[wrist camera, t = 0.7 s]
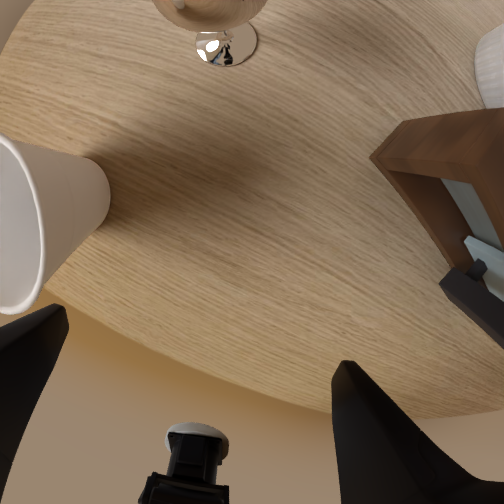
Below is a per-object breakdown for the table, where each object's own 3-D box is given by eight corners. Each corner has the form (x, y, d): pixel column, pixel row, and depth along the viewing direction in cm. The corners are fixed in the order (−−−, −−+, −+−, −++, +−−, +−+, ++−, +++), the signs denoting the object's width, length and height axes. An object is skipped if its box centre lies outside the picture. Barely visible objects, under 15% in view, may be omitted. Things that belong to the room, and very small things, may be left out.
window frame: (479, 318, 24) (544, 381, 13) (368, 157, 20) (475, 165, 8) (503, 289, 23) (572, 342, 12) (402, 120, 19) (515, 105, 7)
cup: (70, 113, 19) (-29, 101, 8) (158, 177, 20) (77, 199, 10) (25, 211, 21) (-62, 246, 10) (100, 276, 23) (24, 347, 12)
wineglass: (173, 60, 18) (101, -17, 6) (208, 2, 16) (175, -98, 5) (245, 86, 18) (236, 5, 7) (278, 25, 17) (301, -78, 5)
